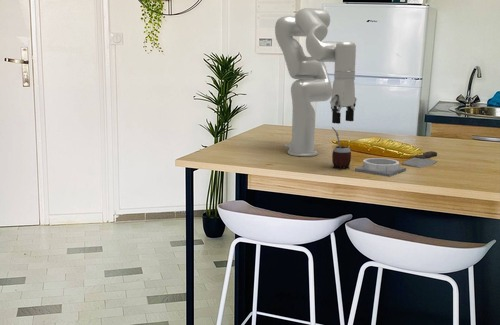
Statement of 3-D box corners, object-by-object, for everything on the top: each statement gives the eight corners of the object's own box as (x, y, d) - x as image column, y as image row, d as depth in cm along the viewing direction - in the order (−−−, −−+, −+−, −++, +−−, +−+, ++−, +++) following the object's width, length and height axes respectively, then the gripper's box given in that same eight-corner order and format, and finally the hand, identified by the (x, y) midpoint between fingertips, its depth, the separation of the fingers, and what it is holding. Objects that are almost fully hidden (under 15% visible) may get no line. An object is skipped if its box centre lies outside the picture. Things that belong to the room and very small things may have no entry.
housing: (354, 170, 224) (355, 161, 223) (372, 165, 235) (373, 156, 234) (389, 176, 215) (389, 167, 215) (406, 170, 226) (406, 161, 225)
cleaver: (425, 154, 259) (425, 150, 259) (447, 157, 254) (448, 152, 253) (399, 166, 236) (400, 161, 235) (424, 170, 230) (424, 164, 230)
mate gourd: (349, 170, 225) (352, 130, 222) (328, 169, 226) (330, 129, 223) (350, 166, 232) (352, 128, 229) (330, 165, 233) (331, 127, 230)
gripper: (347, 75, 231) (345, 119, 234) (323, 76, 217) (322, 123, 221) (364, 75, 226) (363, 121, 229) (341, 77, 213) (339, 125, 216)
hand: (342, 122), depth 225 cm, fingers open, 9 cm apart
